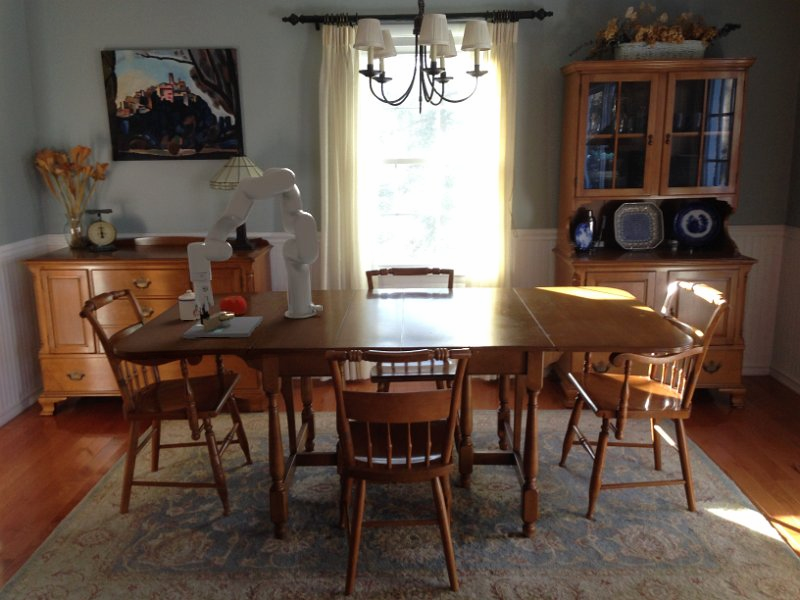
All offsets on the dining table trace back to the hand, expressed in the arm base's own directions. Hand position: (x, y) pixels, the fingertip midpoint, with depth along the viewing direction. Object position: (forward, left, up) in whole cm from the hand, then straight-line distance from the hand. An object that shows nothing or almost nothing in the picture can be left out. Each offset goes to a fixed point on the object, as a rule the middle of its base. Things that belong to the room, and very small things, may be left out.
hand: (205, 324), depth 252 cm
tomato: (-4, -27, -4) cm, 27 cm away
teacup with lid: (+12, -24, -4) cm, 27 cm away
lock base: (-6, -5, -3) cm, 8 cm away
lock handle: (-4, -2, -1) cm, 5 cm away
